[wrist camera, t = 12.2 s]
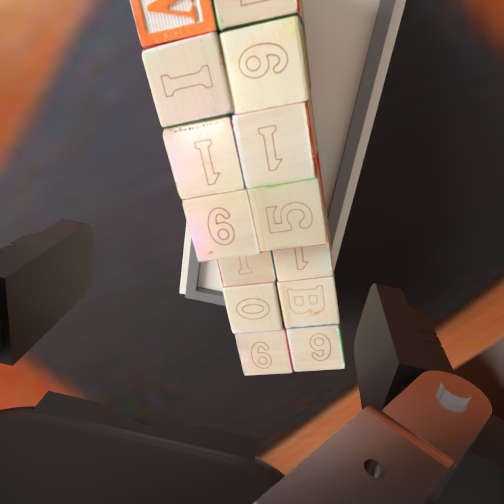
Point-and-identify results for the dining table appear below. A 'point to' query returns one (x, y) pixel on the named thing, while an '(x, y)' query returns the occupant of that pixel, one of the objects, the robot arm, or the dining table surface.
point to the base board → (329, 112)
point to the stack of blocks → (249, 169)
